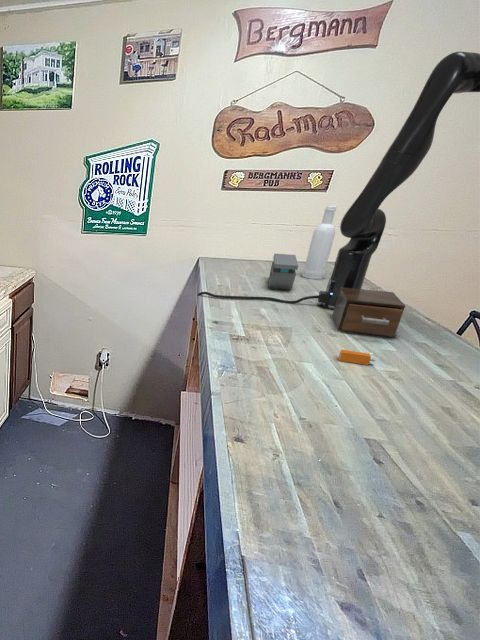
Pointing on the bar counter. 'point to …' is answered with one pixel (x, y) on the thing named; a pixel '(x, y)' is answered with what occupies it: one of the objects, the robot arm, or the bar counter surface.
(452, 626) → the bar counter surface
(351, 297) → the cabinet
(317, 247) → the bottle
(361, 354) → the box cutter
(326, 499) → the bar counter surface
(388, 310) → the drawer
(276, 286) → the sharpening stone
